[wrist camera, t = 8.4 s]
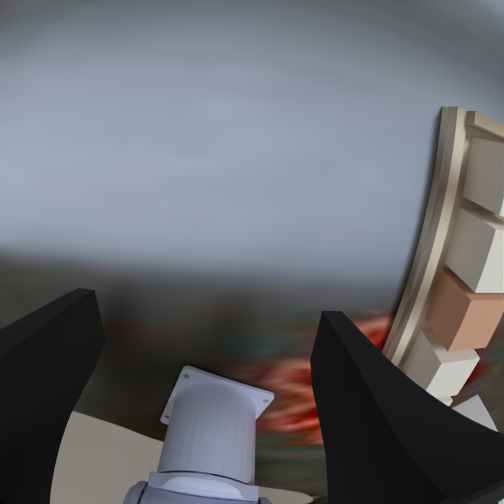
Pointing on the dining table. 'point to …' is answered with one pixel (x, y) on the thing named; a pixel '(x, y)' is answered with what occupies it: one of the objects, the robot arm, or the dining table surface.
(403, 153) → the dining table surface
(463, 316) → the block terracotta
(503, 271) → the cream block
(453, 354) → the cream block
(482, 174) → the cream block
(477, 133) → the rack
